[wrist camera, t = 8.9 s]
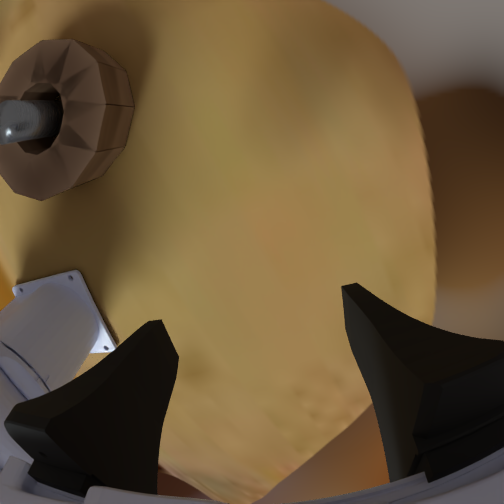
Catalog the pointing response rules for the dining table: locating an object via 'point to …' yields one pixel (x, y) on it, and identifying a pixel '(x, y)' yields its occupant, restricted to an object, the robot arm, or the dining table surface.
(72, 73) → the bead
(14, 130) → the dark grey capsule
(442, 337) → the robot arm
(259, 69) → the dining table surface
